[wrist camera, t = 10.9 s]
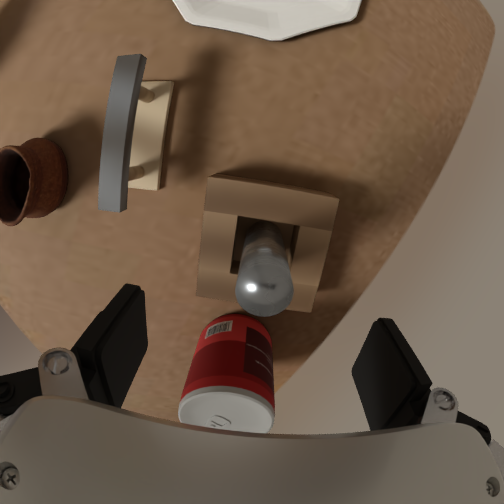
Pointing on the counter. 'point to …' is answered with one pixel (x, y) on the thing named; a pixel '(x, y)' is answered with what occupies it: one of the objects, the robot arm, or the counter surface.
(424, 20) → the counter surface
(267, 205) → the block with square hole
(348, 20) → the plate
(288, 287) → the pin
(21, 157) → the ceramic pot
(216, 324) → the canned food
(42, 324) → the counter surface
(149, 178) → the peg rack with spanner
